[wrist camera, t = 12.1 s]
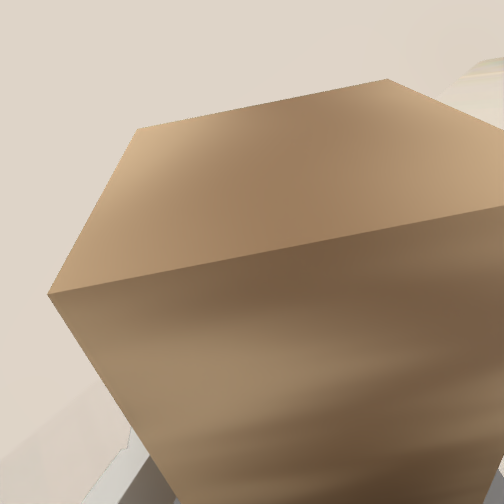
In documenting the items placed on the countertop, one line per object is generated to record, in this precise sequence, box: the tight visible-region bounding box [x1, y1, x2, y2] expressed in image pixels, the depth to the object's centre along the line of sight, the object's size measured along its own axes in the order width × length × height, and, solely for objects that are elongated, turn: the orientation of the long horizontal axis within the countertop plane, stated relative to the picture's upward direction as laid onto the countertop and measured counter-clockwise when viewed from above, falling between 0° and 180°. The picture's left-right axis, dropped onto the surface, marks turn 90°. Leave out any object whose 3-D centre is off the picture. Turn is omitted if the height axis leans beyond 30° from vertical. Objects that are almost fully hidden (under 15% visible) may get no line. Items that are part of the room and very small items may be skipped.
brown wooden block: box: [47, 79, 504, 504], centre depth 9 cm, size 5×5×14 cm
